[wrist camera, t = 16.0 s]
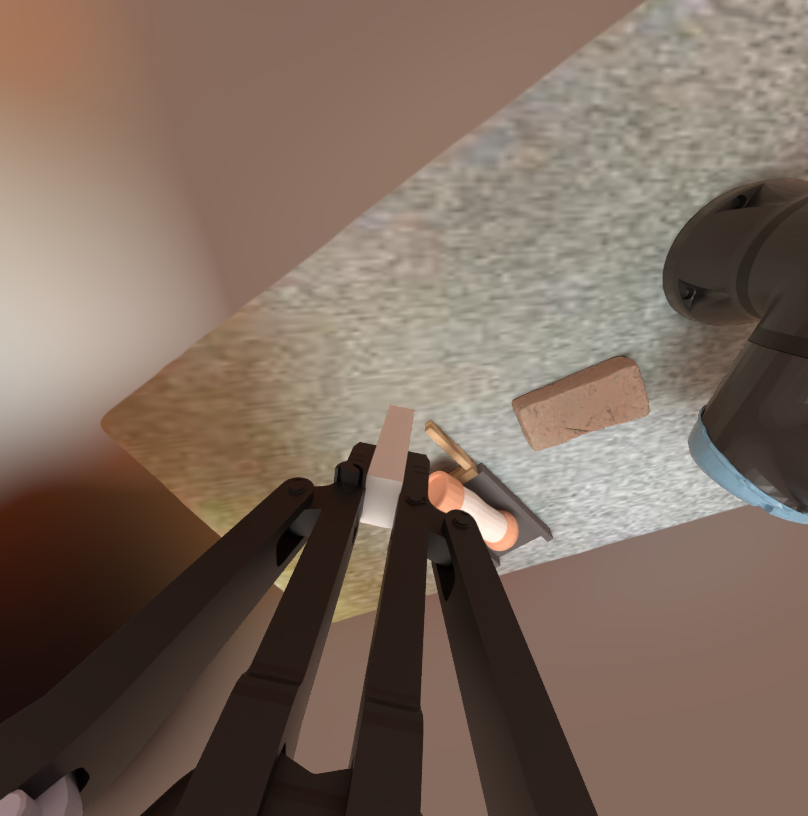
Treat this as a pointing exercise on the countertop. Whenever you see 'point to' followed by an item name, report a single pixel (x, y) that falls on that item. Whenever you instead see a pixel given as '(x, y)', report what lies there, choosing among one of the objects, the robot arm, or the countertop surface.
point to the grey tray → (507, 509)
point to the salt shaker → (473, 510)
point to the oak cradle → (453, 454)
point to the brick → (582, 403)
